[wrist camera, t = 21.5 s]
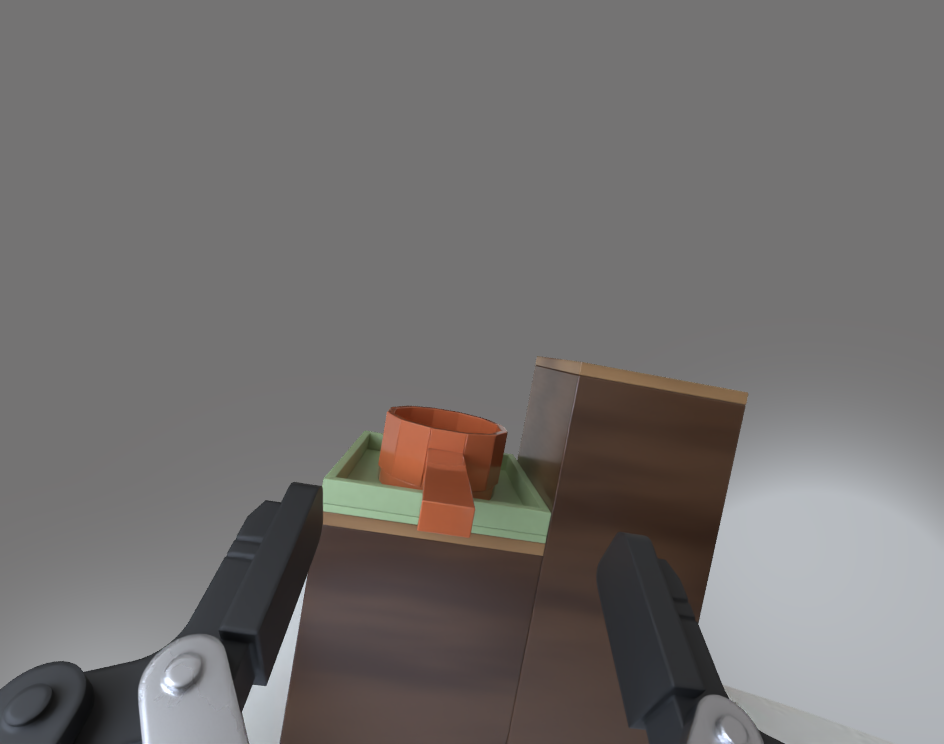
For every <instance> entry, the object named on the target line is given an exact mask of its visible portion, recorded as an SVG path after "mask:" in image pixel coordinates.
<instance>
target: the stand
mask: <svg viewBox="0 0 944 744" xmlns="http://www.w3.org/2000/svg"><path fill="white" fill-rule="evenodd" d="M747 397H748V393H747V392H742V391H737V390H731V389H726V388H720V387H714V386H709V385H704V384H698V383H692V382H688V381H682V380H677V379H671V378H666V377H659V376H654V375H649V374H644V373H638V372H633V371H627V370H622V369H616V368H611V367H606V366H600V365H595V364H589V363H584V362H577V361H570V360H562V359H554V358H546V357H539V356H537V360H536V366H535V370H534V376H533V381H532V386H531V392H530V397H529V402H528V408H527V413H526V418H525V423H524V429H523V434H522V439H521V445H520V449H519V455H518V460H517V461H518V463H519V464H520V466H521V467H522V469H523V471H524V472H525V474H526V475H527V477H528V478H529V480H530V481H531V483H532V484H533V486H534V487H535V489H536V490H537V492H538V493H539V495H540V496H541V498H542V499H543V501H544V502H545V504H546V506H547V507H548V509H549V510H550V512H551V517H550V522H549V528H548V533H547V535H546V536H547V538H546V543H539V542H532V541H525V540H518V539H511V538H504V537H497V536H490V535H483V534H477V533H471V536H470V538H465V537H458V536H451V535H444V534H437V533H430V532H423V531H418V530H417V525H415V524H408V523H401V522H394V521H387V520H380V519H373V518H366V517H359V516H353V515H346V514H339V513H332V512H325V511H323V526H322V532H321V536H320V540H319V544H318V547H317V549H316V552H315V555H314V558H313V560H312V563H311V566H310V568H309V571H308V576H307V582H306V588H305V594H304V600H303V606H302V612H301V618H300V624H299V630H298V636H297V642H296V648H295V654H294V660H293V666H292V672H291V678H290V684H289V690H288V696H287V702H286V708H285V714H284V720H283V726H282V732H281V738H280V744H649V740H648V736H647V732H646V730H642V729H633V728H629V727H628V722H627V718H626V713H625V709H624V704H623V700H622V695H621V691H620V686H619V682H618V677H617V673H616V668H615V664H614V660H613V655H612V651H611V646H610V642H609V637H608V633H607V628H606V624H605V619H604V615H603V610H602V606H601V601H600V597H599V593H598V588H597V582H596V573H597V567H598V564H599V561H600V560H601V558H602V556H603V555H604V553H605V552H606V550H607V548H608V547H609V545H610V543H611V542H612V540H613V538H614V537H615V535H616V534H617V533H618V532H625V533H631V534H638V535H645V536H647V537H649V538H650V540H651V542H652V544H653V546H654V549H655V552H656V555H657V557H658V559H665V560H666V561H667V562H668V563H669V565H670V566H671V567H672V569H673V570H674V571H675V573H676V574H677V575H678V577H679V578H680V580H681V582H682V585H683V587H684V590H685V592H686V595H687V597H688V603H689V604H690V605H691V607H692V610H693V612H694V615H695V621H696V622H698V623H699V618H700V612H701V609H702V604H703V599H704V595H705V590H706V586H707V581H708V576H709V572H710V567H711V563H712V558H713V553H714V549H715V544H716V540H717V535H718V530H719V526H720V521H721V517H722V512H723V507H724V503H725V498H726V493H727V489H728V484H729V479H730V475H731V470H732V466H733V461H734V457H735V451H736V447H737V443H738V438H739V433H740V429H741V424H742V420H743V415H744V410H745V405H746V402H747Z"/></svg>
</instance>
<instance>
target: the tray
mask: <svg viewBox="0 0 944 744" xmlns="http://www.w3.org/2000/svg"><path fill="white" fill-rule="evenodd" d="M382 439H383V434H382V433H376V432H370V431H364V432H363V434H362V435H361V436H360V437H359V438H358V439H357V440H356V442H355V443H354V444H353V445H352V446H351V447H350V449H349V450H348V451H347V452H346V453H345V454H344V456H343V457H342V458H341V459H340V460H339V461H338V463H337V464H336V465H335V466H334V467H333V468H332V470H331V471H330V472H329V473H328V474H327V475H326V476H325V478H324V480H323V485H322V487H323V511H325V512H332V513H339V514H346V515H353V516H359V517H366V518H373V519H380V520H387V521H394V522H401V523H408V524H415V525H417V524H418V515H419V507H420V499H421V490H417V489H411V488H404V487H398V486H391V485H384V484H381V482H380V481H379V479H378V469H379V465H378V462H379V456H380V451H381V445H382ZM473 501H474V505H475V514H474V519H473V525H472V530H471V533H477V534H483V535H490V536H497V537H504V538H511V539H518V540H525V541H532V542H539V543H546V538H547V536H546V535H547V533H548V528H549V522H550V517H551V512H550V510H549V509H548V507H547V506H546V504H545V502H544V501H543V499H542V498H541V496H540V495H539V493H538V492H537V490H536V489H535V487H534V486H533V484H532V483H531V481H530V480H529V478H528V477H527V475H526V474H525V472H524V471H523V469H522V467H521V466H520V464H519V463H518V461H517V460H516V458H515V457H514V456H513V455H512V454H505V453H504V454H503V459H502V465H501V470H500V475H499V481H498V484H497V485H496V487H495V492H494V496H493V497H492V499H490V500H483V499H476V498H473Z"/></svg>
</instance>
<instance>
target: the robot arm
mask: <svg viewBox="0 0 944 744" xmlns="http://www.w3.org/2000/svg"><path fill="white" fill-rule="evenodd" d="M322 526H323V487H322V486H317V485H310V484H303V483H297V482H293V483H291V485H290V486H289V488H288V490H287V492H286V494H285V496H284V498H283V500H282V502H273V501H267V500H266V501H264V502H263V503H262V504H261V505H260V506H259V507H258V508H257V509H255V510H254V511H253V512H252V513H251V514H250V515H249V516H248V517H247V519H246V520H245V522H244V524H243V526H242V528H241V529H240V531H239V533H238V535H237V538H236V540H235V541H234V542H233V544H232V545H231V547H230V549H229V551H228V553H227V556H226V557H225V558H224V560H223V562H222V563H221V565H220V567H219V569H218V571H217V572H216V574H215V576H214V578H213V580H212V581H211V583H210V585H209V587H208V588H207V590H206V592H205V594H204V596H203V598H202V599H201V601H200V603H199V605H198V607H197V608H196V610H195V612H194V614H193V615H192V617H191V619H190V621H189V622H188V624H187V625H186V627H185V628H184V629H183V631H182V632H181V633H180V634H179V635H178V636H177V637H176V638H175V639H174V640H173V641H171V642H170V643H169V644H168V645H167V646H165V647H164V648H162V649H161V650H159V651H157V652H155V653H153V654H152V655H150V656H147V657H145V658H142V659H139V660H135V661H132V662H127V663H123V664H118V665H114V666H109V667H104V668H100V669H96V670H91V671H86V672H83V671H82V670H81V668H79V667H78V666H77V665H75V664H73V663H70V662H64V661H58V662H51V663H46V664H43V665H40V666H37V667H35V668H32V669H30V670H28V671H26V672H24V673H22V674H21V675H19V676H17V677H16V678H15V679H13V680H12V681H10V682H9V683H8V684H7V685H6V686H4V687H3V688H2V689H0V744H249V741H248V737H247V733H246V728H245V724H244V720H243V716H242V710H243V708H244V705H245V703H246V700H247V697H248V695H249V692H250V690H251V687H252V685H261V686H266V685H267V683H268V680H269V677H270V674H271V672H272V669H273V666H274V663H275V661H276V658H277V655H278V653H279V650H280V647H281V644H282V642H283V639H284V636H285V634H286V631H287V628H288V625H289V623H290V620H291V617H292V615H293V612H294V609H295V606H296V604H297V601H298V598H299V596H300V593H301V590H302V587H303V585H304V582H305V579H306V577H307V574H308V571H309V568H310V566H311V563H312V560H313V558H314V555H315V552H316V549H317V547H318V544H319V540H320V536H321V532H322ZM596 582H597V588H598V593H599V597H600V601H601V606H602V610H603V615H604V619H605V624H606V628H607V633H608V637H609V642H610V646H611V651H612V655H613V660H614V664H615V668H616V673H617V677H618V682H619V686H620V691H621V695H622V700H623V704H624V709H625V713H626V718H627V722H628V727H629V728H633V729H642V730H646V732H647V736H648V740H649V744H784V743H782V742H780V741H778V740H776V739H774V738H772V737H770V736H768V735H766V734H764V733H763V732H761V731H759V730H758V729H757V727H756V726H755V724H754V723H753V721H752V720H751V719H750V717H749V716H748V715H747V714H746V713H745V712H744V711H743V710H742V709H741V708H740V707H739V706H738V705H737V704H735V703H734V702H732V701H731V700H730V699H729V698H728V696H727V694H726V692H725V690H724V688H723V685H722V683H721V681H720V678H719V675H718V673H717V671H716V668H715V665H714V663H713V660H712V658H711V655H710V653H709V650H708V648H707V645H706V643H705V640H704V638H703V635H702V633H701V630H700V628H699V625H698V622H696V621H695V615H694V612H693V610H692V607H691V605H690V604H689V603H688V597H687V595H686V592H685V590H684V587H683V585H682V582H681V580H680V578H679V577H678V575H677V574H676V573H675V571H674V570H673V569H672V567H671V566H670V565H669V563H668V562H667V561H666V560H665V559H658V557H657V555H656V552H655V549H654V546H653V544H652V542H651V540H650V538H649V537H647V536H645V535H638V534H631V533H625V532H618V533H617V534H616V535H615V537H614V538H613V540H612V542H611V543H610V545H609V547H608V548H607V550H606V552H605V553H604V555H603V556H602V558H601V560H600V561H599V564H598V567H597V573H596Z"/></svg>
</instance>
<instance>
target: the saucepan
mask: <svg viewBox="0 0 944 744" xmlns="http://www.w3.org/2000/svg"><path fill="white" fill-rule="evenodd" d="M506 438H507V431H506V429H505V428H504V427H503V426H502V425H500V424H497V423H495V422H492V421H490V420H487V419H484V418H481V417H477V416H472V415H469V414H465V413H460V412H455V411H449V410H444V409H437V408H430V407H417V406H399V407H391V408H390V409H389V411H388V412H387V416H386V422H385V428H384V433H383V439H382V445H381V451H380V456H379V462H378V465H379V469H378V479H379V481H380V482H381V484H384V485H391V486H398V487H404V488H411V489H417V490H421V499H420V507H419V515H418V524H417V530H418V531H423V532H430V533H437V534H444V535H451V536H458V537H465V538H470V536H471V530H472V525H473V519H474V514H475V505H474V501H473V498H476V499H483V500H490V499H492V497H493V496H494V492H495V487H496V485H497V484H498V481H499V475H500V470H501V465H502V459H503V454H504V448H505V443H506Z"/></svg>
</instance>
